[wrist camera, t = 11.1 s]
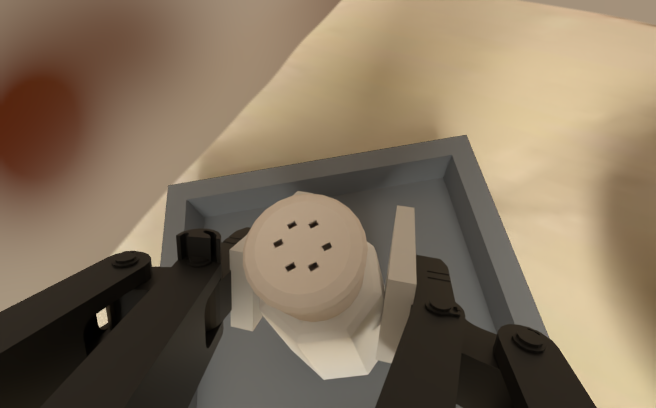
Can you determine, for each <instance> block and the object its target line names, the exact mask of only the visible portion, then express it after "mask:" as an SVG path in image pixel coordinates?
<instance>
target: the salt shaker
mask: <svg viewBox="0 0 656 408" xmlns="http://www.w3.org/2000/svg"><path fill="white" fill-rule="evenodd" d="M243 267H244V271H245V275H246V279H247V281H248V283H249V284H250V286H251V288H252V289H253V291H254V293H255V294H256V295H257V296H258V297H259V298H260V311H261V313H262V315H263V317H264V318H265V319H266V320H267V321H268V323H269V324H270V325H271V326H272V327H273V329H274V330H275V331H276V332H277V333H278V335H279V336H280V337H281V338H282V339H283V341H284V342H285V343H286V344H287V345H288V346H289V348H290V349H291V350H292V351H293V352H294V353H295V354H296V355H298V356H299V357H300V358H301V359H302V360H303V361H304V362H305V363H306V364H307V365H308V366H309V367H310V368H312V369H313V370H314V371H315V372H316V373H317V374H318V375H319V376H320V377H321V378H322V379H323V380H326V379H335V378H344V377H352V376H361V375H368V374H369V373H370V371H371V370H372V368H373V367H374V365H375V364H376V363H377V361H378V360H376V353H377V345H378V338H379V330H380V323H381V318H382V312H383V306H384V300H385V287H384V283H383V278H382V274H381V270H380V266H379V262H378V258H377V253H376V251H375V248H374V246H373V245H371V244H370V243H368V242H367V240H366V234H365V231H364V229H363V227H362V225H361V223H360V221H359V219H358V218H357V217H356V215H355V214H354V213H353V212H352V211H351V210H350V209H349V208H348V207H347V206H345V205H344V204H342V203H341V202H339V201H338V200H336V199H333V198H330V197H327V196H324V195H319V194H301V195H293V196H290V197H288V198H285V199H283V200H280V201H278V202H276V203H275V204H273V205H272V206H270V207H269V208H267V209H266V210H265V211H264V212H263V213H262V214H261V215H260V216H259V217H258V218H257V219H256V220H255V222H254V224H253V225H252V227H251V229H250V231H249V232H248V234H247V237H246V241H245V244H244V248H243Z"/></svg>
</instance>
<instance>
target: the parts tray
mask: <svg viewBox="0 0 656 408" xmlns="http://www.w3.org/2000/svg"><path fill="white" fill-rule="evenodd" d="M297 191H301V192H308V193H313V194H319V195H324V196H327V197H330V198H333V199H336V200H338V201H339V202H341V203H342V204H344V205H345V206H347V207H348V208H349V209H350V210H351V211H352V212H353V213H354V214H355V215H356V217H357V218H358V219H359V221H360V223H361V225H362V227H363V229H364V231H365V234H366V240H367V242H368V243H370V244H371V245H373V246H374V248H375V251H376V253H377V258H378V262H379V266H380V270H381V274H382V278H383V283H384V287H385V285H386V278H387V270H388V263H389V256H390V249H391V243H392V236H393V229H394V223H395V216H396V210H397V205H399V206H406V207H412V208H414V211H415V245H416V255H421V256H427V257H432V258H438V259H441V260H442V261H443V262H444V263H445V264H446V265H447V266H448V270H449V274H450V275H449V276H450V279H451V284H452V288H453V293H454V298H455V302H456V303H457V304H459V305H460V306H461V307H462V309H463V310H464V312H465V319H466V320H467V321H469V322H470V323H472V324H473V325H475V326H477V327H480V328H482V329H484V330H487V331H489V332H492V333H494V334H497V332H498V330H499V329H500V327H501V326H504V325H507V324H516V325H522V326H526V327H530V328H532V329H534V330H537V331H539V332H541V333H542V334H544V335H545V336H546V337H548V338H549V336H548V334H547V331H546V329H545V326H544V324H543V321H542V319H541V316H540V314H539V312H538V309H537V307H536V304H535V302H534V299H533V297H532V294H531V292H530V290H529V287H528V285H527V282H526V280H525V277H524V275H523V272H522V270H521V267H520V265H519V263H518V260H517V258H516V255H515V253H514V250H513V248H512V245H511V243H510V241H509V238H508V236H507V233H506V231H505V228H504V226H503V223H502V221H501V218H500V216H499V214H498V211H497V209H496V206H495V204H494V201H493V199H492V196H491V194H490V192H489V189H488V187H487V184H486V182H485V179H484V177H483V174H482V172H481V170H480V167H479V165H478V162H477V160H476V157H475V155H474V152H473V150H472V147H471V145H470V143H469V140H468V138H467V135H462V136H456V137H450V138H444V139H439V140H433V141H427V142H421V143H415V144H409V145H403V146H398V147H392V148H386V149H380V150H374V151H368V152H362V153H357V154H351V155H345V156H339V157H333V158H327V159H321V160H315V161H310V162H304V163H298V164H292V165H286V166H280V167H274V168H269V169H263V170H257V171H251V172H245V173H239V174H233V175H228V176H222V177H216V178H210V179H204V180H198V181H192V182H186V183H181V184H175V185H169V186H168V193H167V203H166V213H165V223H164V233H163V243H162V253H161V263H160V267H172V266H173V265H174V263H175V262H176V261H177V260H178V256H177V242H176V235H177V234H179V233H181V232H183V231H186V230H190V229H198V228H199V229H212V230H215V231H217V232H219V233H220V235H221V242H223V241H224V240H225V239H226V238H229V236H230V235H231V234H233V233H234V232H235V231H237V230H240V229H243V228H246V227H249V228H251V227H252V225H253V224H254V222H255V220H256V219H257V218H258V217H259V216H260V215H261V214H262V213H263V212H264V211H265V210H266V209H267V208H269V207H270V206H272V205H273V204H275V203H276V202H278V201H280V200H283V199H285V198H288V197H290V196H293V195H294V194H295V193H296V192H297ZM223 326H224V329H223V335H222V337H221V339H220V341H219V343H218V345H217V347H216V349H215V352H214V354H213V356H212V358H211V360H210V362H209V364H208V366H207V369H206V371H205V373H204V375H203V377H202V379H201V381H200V383H199V386H198V388H197V390H196V392H195V394H194V396H193V398H192V400H191V403H190V405H189V407H188V408H375V406H376V404H377V401H378V398H379V395H380V393H381V390H382V387H383V385H384V382H385V379H386V377H387V374H388V371H389V368H390V366H391V363H387V362H383V361H379V360H378V361H377V363H376V364H375V365H374V367H373V368H372V370H371V371H370V373H369V374H368V375H361V376H352V377H344V378H335V379H326V380H323V379H322V378H321V377H320V376H319V375H318V374H317V373H316V372H315V371H314V370H313V369H312V368H310V367H309V366H308V365H307V364H306V363H305V362H304V361H303V360H302V359H301V358H300V357H299V356H298V355H296V354H295V353H294V352H293V351H292V350H291V349H290V348H289V346H288V345H287V344H286V343H285V342H284V341H283V339H282V338H281V337H280V336H279V335H278V333H277V332H276V331H275V330H274V329H273V327H272V326H271V325H270V324H269V323H268V321H267V320H266V319H265V318H264V317H262V318H261V320H260V321H259V323H258V324H257V326H256V327H255V329H254V330H253V331H249V330H244V329H240V328H236V327H231V311H230V313H229V314H228V315H227V316H226V317H225V319H224V320H223ZM456 408H463V407H461V406H459V405H457V404H456Z"/></svg>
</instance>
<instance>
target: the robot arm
mask: <svg viewBox="0 0 656 408" xmlns="http://www.w3.org/2000/svg"><path fill="white" fill-rule="evenodd" d="M301 194H313V193H308V192H301V191H297V192H296V193H295V194H294V195H301ZM250 229H251V228H249V227H246V228H243V229H240V230H237V231H235V232H234V233H233V234H231V235H230V236H229V238H226V239H225V240H224V241H223V242H221V235H220V233H219V232H217V231H215V230H212V229H199V228H198V229H190V230H186V231H183V232H181V233H179V234H177V235H176V242H177V256H178V260H177V261H176V262H175V263H174V265H173V266H172V267H152V265H151V257H150V256H149V255H148V254H146V253H144V252H136V251H130V252H129V251H125V252H122V253H119V254H115V255H112V256H110V257H107V258H105V259H104V260H102V261H100V262H98V263H96V264H94V265H92V266H90V267H88V268H86V269H84V270H82V271H80V272H78V273H76V274H74V275H72V276H70V277H68V278H66V279H64V280H62V281H61V282H58V283H56V284H54V285H53V286H51V287H48V288H47V289H45V290H43V291H41V292H39V293H37V294H35V295H33V296H31V297H29V298H27V299H25V300H23V301H21V302H19V303H17V304H15V305H13V306H11V307H9V308H7V309H5V310H4V311H1V312H0V408H188V407H189V405H190V403H191V400H192V398H193V396H194V394H195V392H196V390H197V388H198V386H199V383H200V381H201V379H202V377H203V375H204V373H205V371H206V369H207V366H208V364H209V362H210V360H211V358H212V356H213V354H214V352H215V349H216V347H217V345H218V343H219V341H220V339H221V337H222V335H223V329H224V326H223V320H224V319H225V317H226V316H227V315H228V314H229V313H230V311H231V327H236V328H240V329H244V330H249V331H253V330H254V329H255V327H256V326H257V324H258V323H259V321H260V320H261V318H262V317H263V315H262V313H261V311H260V298H259V297H258V296H257V295H256V294H255V293H254V291H253V289H252V288H251V286H250V284H249V283H248V281H247V279H246V275H245V271H244V267H243V248H244V244H245V241H246V237H247V234H248V232H249V231H250ZM449 275H450V274H449V270H448V266H447V265H446V264H445V263H444V262H443V261H442V260H441V259H438V258H432V257H427V256H421V255H416V245H415V211H414V208H412V207H406V206H399V205H397V210H396V216H395V223H394V229H393V236H392V243H391V249H390V256H389V263H388V270H387V278H386V285H385V300H384V306H383V312H382V318H381V323H380V330H379V338H378V345H377V353H376V360H379V361H383V362H387V363H391V366H390V368H389V371H388V374H387V377H386V379H385V382H384V385H383V387H382V390H381V393H380V395H379V398H378V401H377V404H376V406H375V408H456V404H457V405H459V406H461V407H463V408H597V407H596V406H595V404H594V403H593V401H592V400H591V398H590V396H589V395H588V393H587V392H586V390H585V389H584V387H583V385H582V384H581V382H580V381H579V379H578V378H577V376H576V375H575V373H574V371H573V370H572V368H571V367H570V365H569V364H568V362H567V360H566V359H565V357H564V356H563V354H562V353H561V351H560V349H559V348H558V347H557V346H556V345H555V343H554V342H553V341H552V340H551V339H549V338H548V337H546V336H545V335H544V334H542V333H541V332H539V331H537V330H534V329H532V328H530V327H526V326H522V325H516V324H507V325H504V326H501V327H500V329H499V330H498V332H497V334H494V333H492V332H489V331H487V330H484V329H482V328H480V327H477V326H475V325H473V324H472V323H470V322H469V321H467V320H466V319H465V312H464V310H463V309H462V307H461V306H460V305H459V304H457V303H456V302H455V298H454V293H453V288H452V284H451V279H450V276H449ZM104 308H106V311H107V318H108V323H107V324H106V325H104V326H102V327H100V328H99V326H98V323H97V317H96V313H98V312H99V311H101V310H102V309H104Z"/></svg>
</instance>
